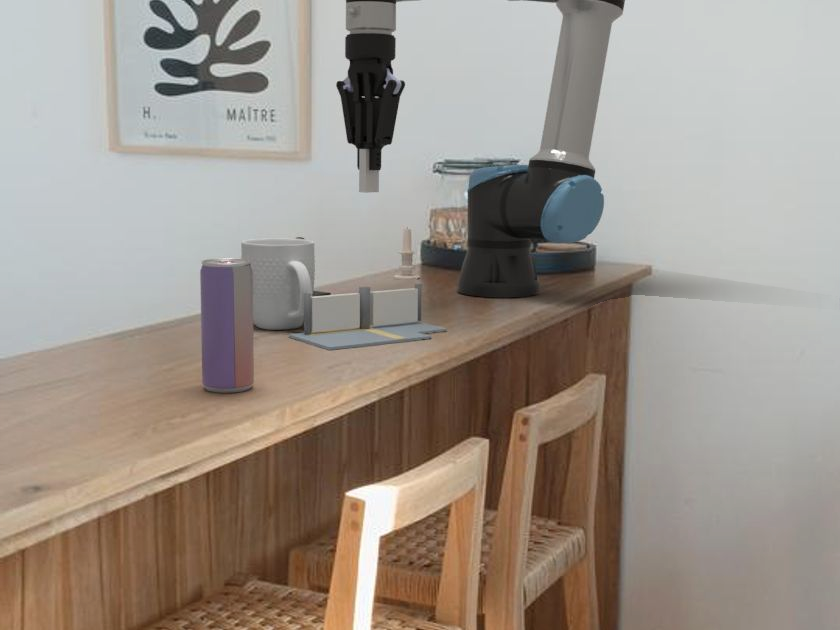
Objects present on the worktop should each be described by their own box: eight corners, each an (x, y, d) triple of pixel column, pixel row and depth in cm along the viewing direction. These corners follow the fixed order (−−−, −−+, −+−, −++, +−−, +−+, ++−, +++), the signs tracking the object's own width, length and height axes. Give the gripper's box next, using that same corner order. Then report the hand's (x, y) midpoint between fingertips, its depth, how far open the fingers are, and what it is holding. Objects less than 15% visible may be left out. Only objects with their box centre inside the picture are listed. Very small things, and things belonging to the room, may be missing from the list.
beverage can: (209, 395, 138) (207, 264, 135) (197, 384, 143) (194, 259, 141) (260, 391, 140) (258, 262, 138) (246, 381, 145) (244, 257, 143)
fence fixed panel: (366, 330, 182) (366, 286, 181) (371, 331, 180) (372, 287, 179) (301, 336, 175) (301, 291, 174) (307, 338, 174) (307, 293, 173)
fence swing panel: (418, 319, 187) (418, 283, 186) (422, 320, 186) (423, 284, 185) (369, 324, 182) (369, 287, 181) (373, 325, 181) (373, 288, 180)
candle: (395, 276, 244) (395, 225, 243) (421, 277, 244) (421, 225, 242) (392, 279, 239) (392, 227, 238) (418, 280, 239) (419, 227, 237)
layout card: (416, 323, 188) (416, 320, 188) (461, 335, 178) (461, 332, 178) (288, 337, 175) (288, 334, 175) (329, 350, 165) (329, 346, 165)
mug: (340, 332, 179) (340, 245, 177) (273, 339, 173) (273, 248, 171) (293, 318, 191) (293, 236, 189) (229, 324, 185) (228, 239, 183)
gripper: (323, 33, 182) (322, 190, 186) (382, 29, 173) (380, 195, 177) (359, 36, 187) (358, 189, 191) (419, 33, 178) (416, 193, 182)
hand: (368, 191), depth 184 cm, fingers closed
